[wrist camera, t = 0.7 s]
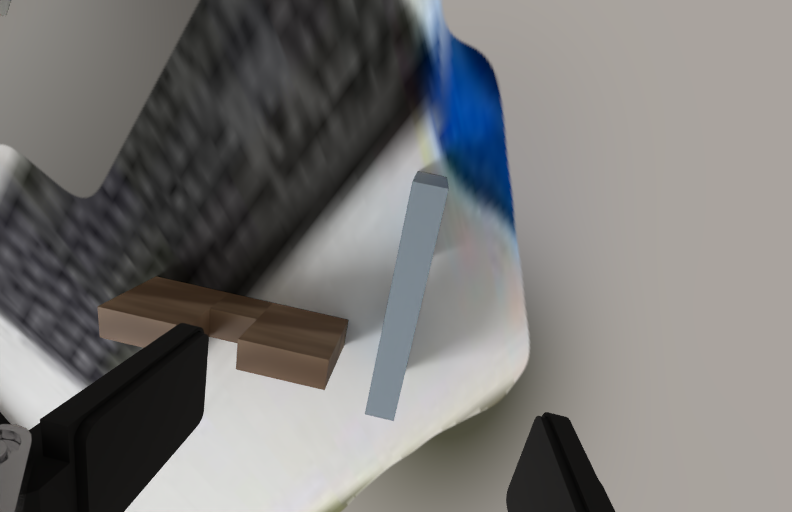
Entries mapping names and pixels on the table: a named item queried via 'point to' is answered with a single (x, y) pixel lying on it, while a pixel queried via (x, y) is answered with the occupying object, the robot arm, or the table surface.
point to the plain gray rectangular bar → (407, 291)
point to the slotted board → (231, 328)
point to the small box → (4, 7)
